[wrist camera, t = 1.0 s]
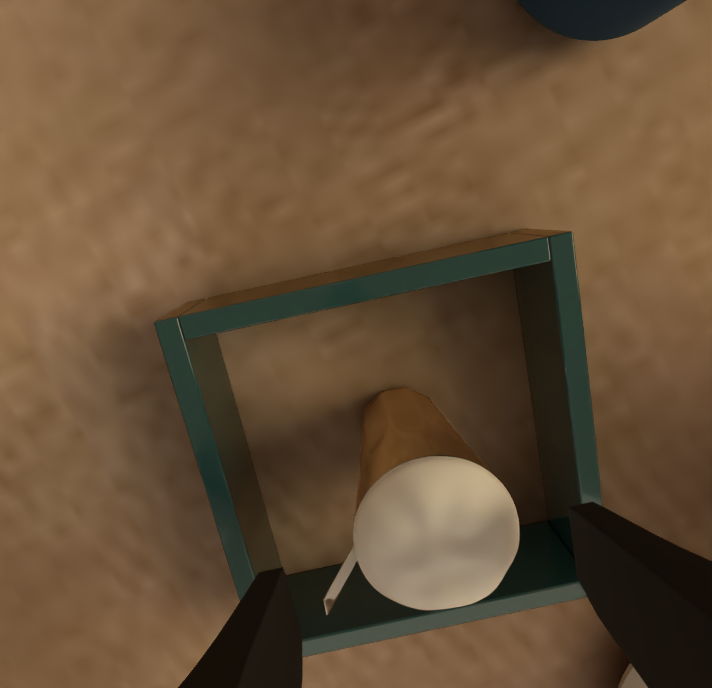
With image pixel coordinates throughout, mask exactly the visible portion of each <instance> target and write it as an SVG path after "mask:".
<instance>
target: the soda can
mask: <svg viewBox="0 0 712 688" xmlns="http://www.w3.org/2000/svg"><path fill="white" fill-rule="evenodd" d="M518 1H519V2H520V4H521V5H522V6H523V8H524V9H525V10H526V11H527V12H528V13H529V14H530V15H531V16H532V17H533V18H534V19H535V20H536V21H538V22H539V23H540V24H542V25H543V26H545V27H546V28H548V29H550V30H552V31H554V32H556V33H558V34H560V35H563V36H566V37H569V38H573V39H578V40H587V41H598V40H608V39H613V38H617V37H621V36H624V35H627V34H630V33H632V32H634V31H636V30H638V29H640V28H642V27H644V26H646V25H647V24H649V23H650V22H652V21H654V20H655V19H657V18H659V17H660V16H662V15H663V14H665V13H667V12H668V11H670V10H671V9H673V8H675V7H676V6H678V5H680V4H681V3H683V2H684V1H686V0H518Z"/></svg>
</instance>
